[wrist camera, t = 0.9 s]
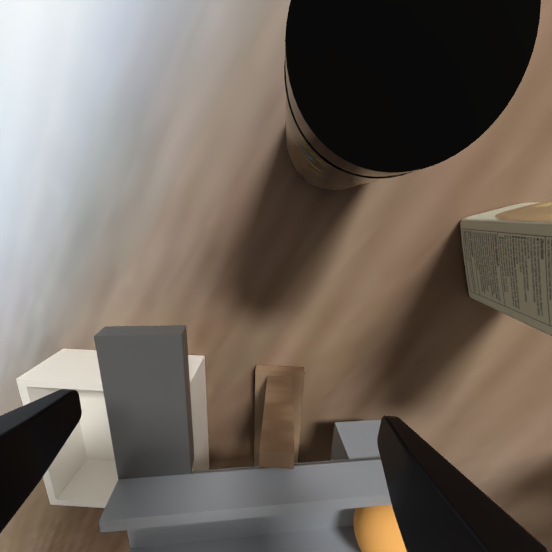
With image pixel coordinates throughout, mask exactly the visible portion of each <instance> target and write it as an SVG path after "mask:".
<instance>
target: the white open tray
mask: <svg viewBox="0 0 552 552" xmlns="http://www.w3.org/2000/svg"><path fill="white" fill-rule="evenodd" d="M188 363H189V379H190V394H191V410H192V426H193V442H194V462H193V467H192V471H197V470H209V445H208V422H207V399H206V376H205V356H198V355H188ZM16 380H17V384H18V388H19V391H20V395H21V399H22V402H23V406H24V405H26V404H28V403H31V402H33V401H35V400H38V399H40V398H42V397H44V396H47V395H49V394H51V393H53V392H56V391H58V390H60V389H71V390H76V391H77V392H78V393H79V397H80V404H81V410H82V415H81V418H80V421H79V422H78V424H77V426H76V427H75V429H74V430H73V432H72V433H71V435H70V436H69V438H68V439H67V441H66V442H65V444H64V445H63V447H62V449H61V450H60V452H59V453H58V455H57V456H56V458H55V459H54V461H53V462H52V464H51V465H50V467H49V468H48V470H47V471H46V473H45V474H44V476H43V479H44V483H45V487H46V490H47V494H48V498H49V501H50V504H51V505H66V506H81V507H96V508H105V507H106V504H107V502H108V500H109V498H110V496H111V494H112V492H113V490H114V487H115V485H116V483H117V481H118V475H117V469H116V463H115V457H114V451H113V446H112V440H111V434H110V428H109V422H108V416H107V410H106V404H105V398H104V393H103V387H102V381H101V375H100V369H99V363H98V357H97V351H96V350H82V349H62V350H60V351H59V352H57V353H56V354H54V355H53V356H51V357H49V358H48V359H46V360H45V361H43V362H42V363H40V364H39V365H37V366H36V367H34V368H32V369H31V370H29V371H28V372H26V373H25V374H23V375H22V376H20V377H18V378H17V379H16Z"/></svg>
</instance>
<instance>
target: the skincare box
mask: <svg viewBox="0 0 552 552" xmlns="http://www.w3.org/2000/svg"><path fill="white" fill-rule="evenodd" d="M460 227H461V238H462V248H463V256H464V264H465V271H466V278H467V284H468V291H469V296H470V298H472V299H474V300H476V301H478V302H480V303H483V304H485V305H487V306H489V307H491V308H493V309H495V310H498V311H500V312H502V313H504V314H506V315H508V316H510V317H512V318H515V319H517V320H519V321H521V322H523V323H525V324H527V325H529V326H532V327H534V328H536V329H538V330H540V331H542V332H544V333H547V334H549V335H551V336H552V202H539V203H520V204H516V205H512V206H508V207H504V208H500V209H496V210H492V211H488V212H484V213H481V214H477V215H473V216H470V217H466V218H463V219H462V220H461V222H460Z"/></svg>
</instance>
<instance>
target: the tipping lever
mask: <svg viewBox="0 0 552 552" xmlns="http://www.w3.org/2000/svg"><path fill="white" fill-rule="evenodd" d="M94 340H95V346H96V351H97V357H98V363H99V369H100V375H101V381H102V387H103V393H104V398H105V404H106V410H107V416H108V422H109V428H110V434H111V440H112V446H113V451H114V457H115V463H116V469H117V475H118V481H117V483H116V485H115V487H114V490H113V492H112V494H111V496H110V498H109V500H108V502H107V504H106V507H105V509H104V511H103V513H102V515H101V517H100V519H99V526H100V531H101V533H103V532H113V531H123V530H127V534H128V540H129V545H130V551H129V552H362V551H361V549H360V547H359V545H358V542H357V539H356V536H355V532H354V513H355V509H356V508H360V507H371V506H381V505H391V504H392V503H391V500H390V496H389V491H388V487H387V483H386V479H385V475H384V471H383V466H382V462H381V458H380V454H379V450H378V444H377V437H378V432H379V428H380V424H381V420H366V421H349V422H335V424H334V432H333V441H332V449H331V458H330V461H317V462H304V463H294V469H284V468H268V467H259V466H251V467H237V468H224V469H211V470H197V471H192V467H193V462H194V442H193V426H192V410H191V394H190V379H189V363H188V347H187V331H186V325H184V326H114V327H104V328H103V329H102V330H101V331H100V332H98V333H97V334H96V335H95V336H94Z"/></svg>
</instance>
